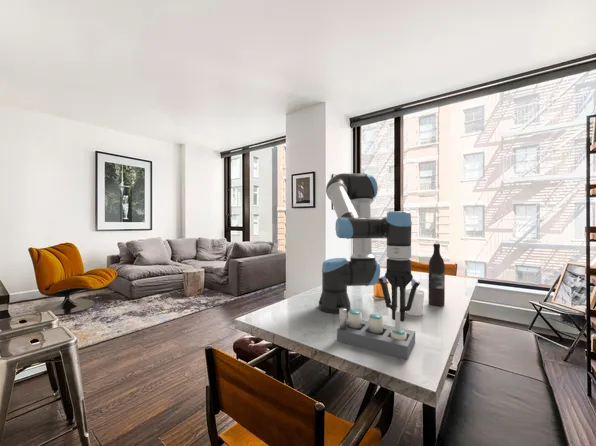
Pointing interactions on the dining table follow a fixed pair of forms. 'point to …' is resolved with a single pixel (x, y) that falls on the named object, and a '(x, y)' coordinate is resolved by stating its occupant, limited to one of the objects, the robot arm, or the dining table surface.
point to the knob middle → (375, 323)
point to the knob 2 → (398, 335)
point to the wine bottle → (436, 278)
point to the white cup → (415, 302)
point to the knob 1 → (354, 319)
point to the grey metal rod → (342, 318)
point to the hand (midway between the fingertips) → (398, 330)
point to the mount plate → (378, 340)
